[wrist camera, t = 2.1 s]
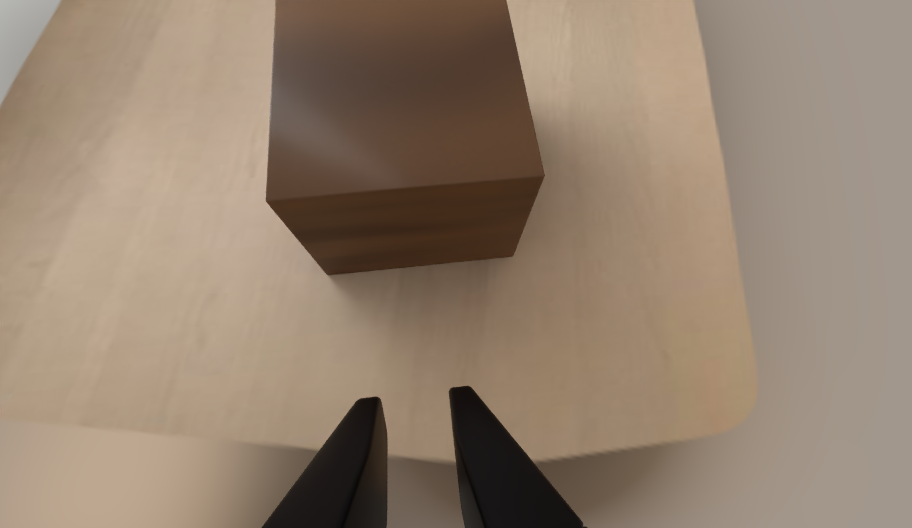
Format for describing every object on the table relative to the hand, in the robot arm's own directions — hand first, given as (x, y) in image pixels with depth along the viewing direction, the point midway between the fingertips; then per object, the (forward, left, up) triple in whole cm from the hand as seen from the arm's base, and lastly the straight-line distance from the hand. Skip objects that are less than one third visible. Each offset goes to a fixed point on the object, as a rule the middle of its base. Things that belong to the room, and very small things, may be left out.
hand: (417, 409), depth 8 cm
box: (+13, +3, -13) cm, 18 cm away
